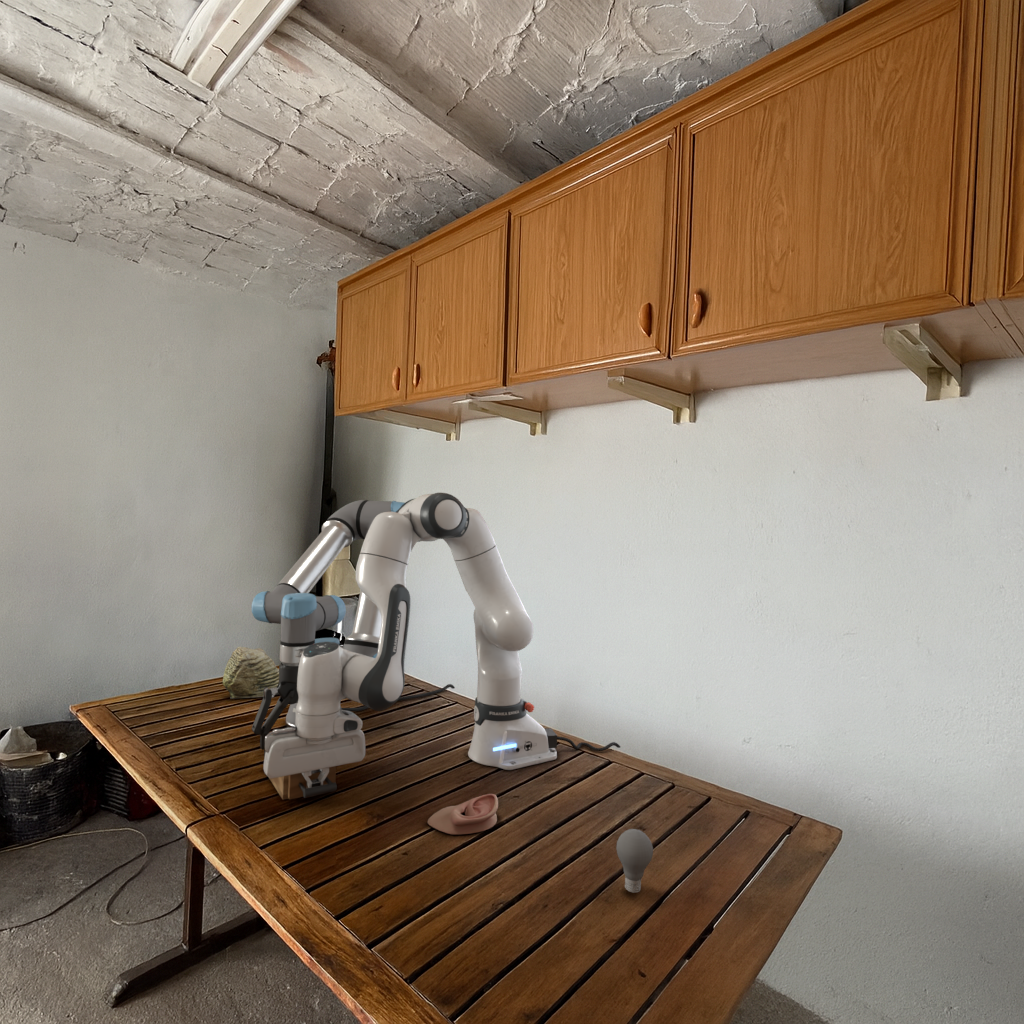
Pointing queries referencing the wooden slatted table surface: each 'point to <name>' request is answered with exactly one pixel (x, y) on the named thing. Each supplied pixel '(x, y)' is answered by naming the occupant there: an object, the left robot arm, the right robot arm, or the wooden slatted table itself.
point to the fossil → (249, 673)
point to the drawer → (299, 787)
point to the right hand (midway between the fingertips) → (314, 789)
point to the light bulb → (634, 857)
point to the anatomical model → (467, 816)
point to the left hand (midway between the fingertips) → (293, 757)
